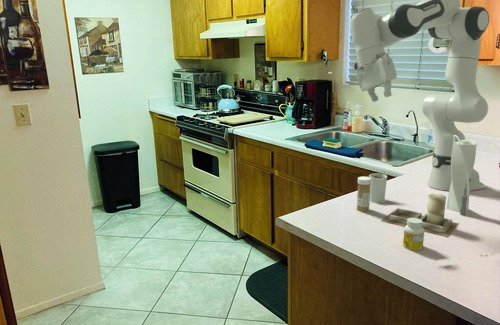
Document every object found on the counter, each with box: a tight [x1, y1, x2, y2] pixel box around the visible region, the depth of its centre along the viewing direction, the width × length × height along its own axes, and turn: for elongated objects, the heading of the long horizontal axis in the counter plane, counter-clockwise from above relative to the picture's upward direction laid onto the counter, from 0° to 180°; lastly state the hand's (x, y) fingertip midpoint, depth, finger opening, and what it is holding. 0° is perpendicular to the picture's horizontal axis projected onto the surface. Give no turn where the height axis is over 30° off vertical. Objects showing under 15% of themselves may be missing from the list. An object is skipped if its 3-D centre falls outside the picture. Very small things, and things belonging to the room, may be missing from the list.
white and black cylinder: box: [368, 172, 388, 204], centre depth 156 cm, size 7×7×10 cm
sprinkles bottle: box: [356, 175, 371, 213], centre depth 143 cm, size 5×5×14 cm
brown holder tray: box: [380, 207, 460, 238], centre depth 132 cm, size 21×13×3 cm, turn 50°
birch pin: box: [426, 193, 447, 227], centre depth 128 cm, size 5×5×10 cm
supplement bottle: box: [402, 218, 425, 252], centre depth 115 cm, size 5×5×10 cm
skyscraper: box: [445, 135, 477, 217], centre depth 139 cm, size 8×8×28 cm
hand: (381, 99), depth 133 cm, fingers open, 8 cm apart
